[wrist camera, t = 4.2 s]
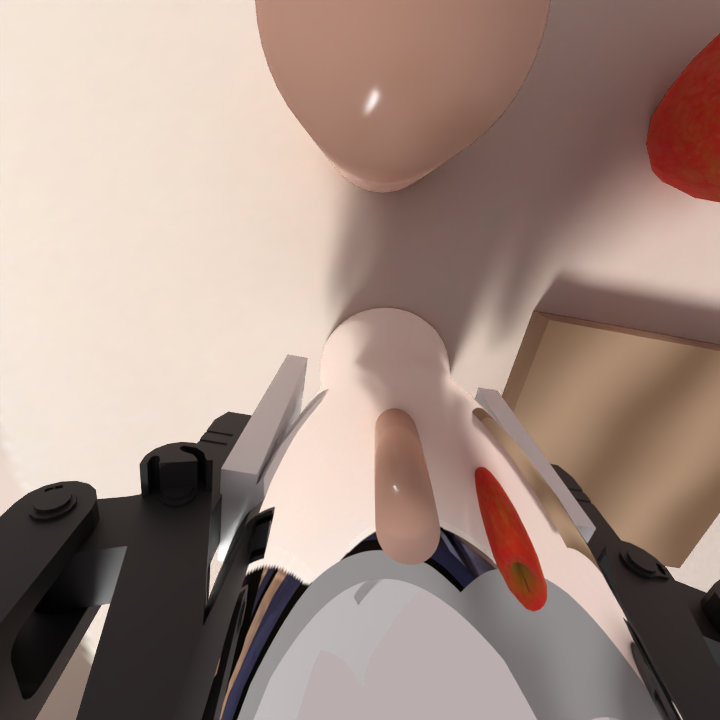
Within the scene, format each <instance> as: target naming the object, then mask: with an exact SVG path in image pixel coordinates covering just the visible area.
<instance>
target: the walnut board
mask: <svg viewBox="0 0 720 720" xmlns="http://www.w3.org/2000/svg"><path fill="white" fill-rule="evenodd" d="M502 398H503V399H504V400H505V402H506V403H507V405H508V406H509V407H510V409H511V410H512V412H513V413H514V414H515V416H516V417H517V419H518V420H519V421H520V423H521V424H522V426H523V427H524V428H525V430H526V431H527V433H528V434H529V435H530V437H531V438H532V440H533V441H534V442H535V444H536V445H537V446H538V448H539V449H540V451H541V452H542V453H543V455H544V456H545V458H546V459H547V460H548V462H549V463H550V464H554V465H558V466H560V467H561V468H562V469H563V470H565V471H566V472H567V473H568V474H569V475H571V476H572V477H573V478H574V479H575V481H576V482H577V483H578V485H579V486H580V487H581V489H582V490H583V493H585V494H586V495H587V496H588V498H589V499H590V500H591V504H594V506H595V507H596V508H597V509H598V511H599V512H600V513H601V515H602V516H603V517H604V519H605V520H606V521H607V522H608V524H609V525H610V526H611V528H612V529H613V530H614V532H615V533H616V534H617V536H618V537H619V538H620V539H621V541H625V542H629V543H632V544H634V545H636V546H638V547H640V548H642V549H644V550H645V551H647V552H648V553H649V554H651V555H652V556H654V557H655V558H656V559H657V560H658V561H660V562H661V563H662V564H663V565H664V566H669V567H676V568H680V567H681V565H682V564H683V562H684V561H685V560H686V558H687V557H688V556H689V554H690V553H691V551H692V550H693V549H694V547H695V546H696V545H697V543H698V542H699V540H700V539H701V538H702V536H703V535H704V534H705V532H706V531H707V529H708V528H709V527H710V525H711V524H712V523H713V521H714V520H715V518H716V517H717V516H718V514H719V513H720V345H718V344H712V343H707V342H701V341H696V340H690V339H685V338H679V337H674V336H668V335H663V334H658V333H652V332H647V331H641V330H636V329H630V328H625V327H619V326H614V325H608V324H603V323H598V322H592V321H587V320H581V319H576V318H570V317H565V316H559V315H554V314H549V313H543V312H538V311H533V314H532V317H531V319H530V322H529V325H528V327H527V330H526V333H525V336H524V338H523V341H522V344H521V346H520V349H519V352H518V355H517V357H516V360H515V363H514V365H513V368H512V371H511V374H510V376H509V379H508V382H507V384H506V387H505V390H504V393H503V395H502Z"/></svg>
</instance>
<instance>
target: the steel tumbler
mask: <svg viewBox="0 0 720 720" xmlns="http://www.w3.org/2000/svg"><path fill="white" fill-rule="evenodd" d="M320 382H321V388H320V389H319V391H318V392H317V393H316V394H315V396H314V397H313V398H312V400H311V401H310V402H309V403H308V405H307V406H306V407H305V409H304V410H303V411H302V413H301V414H300V415H299V417H298V418H297V419H296V421H295V422H294V423H293V425H292V426H291V427H290V429H289V430H288V432H287V433H286V435H285V436H284V438H283V440H282V441H281V443H280V444H279V446H278V448H277V449H276V451H275V452H274V454H273V456H272V457H271V459H270V460H269V462H268V464H267V465H266V467H265V468H264V470H263V472H262V474H261V476H260V478H259V480H258V482H257V485H256V486H255V489H254V491H253V493H252V495H251V497H250V499H249V501H248V503H247V506H246V508H245V510H244V512H243V514H242V516H241V518H240V520H239V523H238V525H237V527H236V530H235V532H234V535H233V537H232V540H231V542H230V545H229V547H228V550H227V553H226V555H225V558H224V560H223V563H222V565H221V568H220V571H219V573H218V576H217V578H216V581H215V583H214V586H213V589H212V591H211V594H210V596H209V599H208V602H207V605H206V608H205V612H204V620H203V627H202V630H201V633H200V636H199V639H198V642H197V645H196V649H195V652H194V655H193V658H192V661H191V664H190V668H189V671H188V674H187V677H186V681H185V684H184V687H183V690H182V693H181V697H180V700H179V703H178V706H177V710H176V713H175V716H174V719H173V720H686V718H685V716H684V714H683V712H682V710H681V708H680V707H679V705H678V703H677V701H676V699H675V697H674V696H673V694H672V692H671V690H670V688H669V686H668V684H667V683H666V681H665V679H664V677H663V675H662V673H661V671H660V670H659V668H658V666H657V664H656V662H655V660H654V659H653V657H652V655H651V653H650V652H649V650H648V648H647V646H646V644H645V643H644V641H643V639H642V637H641V635H640V634H639V632H638V630H637V628H636V627H635V625H634V623H633V621H632V619H631V618H630V616H629V614H628V612H627V611H626V609H625V607H624V605H623V603H622V602H621V600H620V598H619V596H618V594H617V593H616V591H615V589H614V587H613V586H612V584H611V582H610V580H609V578H608V577H607V575H606V573H605V572H604V570H603V568H602V567H601V565H600V563H599V562H598V560H597V559H596V557H595V555H594V554H593V552H592V550H591V549H590V547H589V546H588V544H587V542H586V541H585V539H584V537H583V536H582V534H581V533H580V531H579V529H578V528H577V526H576V524H575V523H574V521H573V520H572V518H571V516H570V515H569V513H568V511H567V510H566V508H565V507H564V505H563V504H562V502H561V501H560V500H559V498H558V497H557V495H556V494H555V493H554V491H553V490H552V488H551V487H550V486H549V484H548V483H547V481H546V480H545V479H544V477H543V476H542V474H541V473H540V472H539V470H538V469H537V467H536V466H535V465H534V463H533V462H532V460H531V459H530V458H529V456H528V455H527V454H526V453H525V451H524V450H523V449H522V448H521V447H520V446H519V445H518V444H517V442H516V441H515V440H514V439H513V438H512V437H511V436H510V435H509V434H508V433H507V431H506V430H505V429H504V428H503V427H502V426H501V425H500V424H499V423H498V422H497V420H496V419H495V418H494V417H493V416H492V415H491V414H490V413H489V412H488V411H487V410H486V409H484V408H483V407H482V406H481V405H480V404H479V403H478V402H477V401H476V400H475V399H474V398H473V397H472V396H471V395H470V394H468V393H467V392H466V391H465V390H464V389H463V388H462V387H461V386H460V385H458V384H457V383H456V382H455V381H454V380H453V379H452V378H451V377H450V366H449V359H448V354H447V351H446V348H445V345H444V343H443V341H442V339H441V337H440V336H439V334H438V333H437V332H436V331H435V329H434V328H433V327H432V326H431V325H430V324H429V323H427V322H426V321H425V320H423V319H422V318H420V317H418V316H416V315H414V314H412V313H410V312H407V311H404V310H400V309H395V308H374V309H369V310H366V311H362V312H360V313H357V314H355V315H353V316H351V317H350V318H348V319H346V320H345V321H344V322H342V323H341V324H340V325H339V326H338V327H337V328H336V329H335V330H334V331H333V332H332V334H331V335H330V337H329V338H328V340H327V342H326V344H325V346H324V348H323V351H322V355H321V360H320Z"/></svg>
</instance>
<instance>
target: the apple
mask: <svg viewBox="0 0 720 720" xmlns="http://www.w3.org/2000/svg"><path fill="white" fill-rule="evenodd" d="M646 145H647V149H648V154H649V158H650V162H651V167H652V171H653V172H654V173H655V174H656V175H657V176H658V177H659V178H660V179H661V180H662V182H665V183H667V184H669V185H671V186H673V187H675V188H677V189H679V190H681V191H683V192H685V193H687V194H688V195H690V196H692V197H694V198H699V199H705V200H710V201H715V202H720V34H719V35H718V36H717V37H716V38H715V39H714V40H713V41H712V42H710V43H709V44H708V45H707V46H706V47H705V48H704V49H703V50H702V51H701V52H700V53H699V54H698V55H697V56H696V57H695V58H694V59H693V60H692V61H691V63H690V64H689V65H688V66H687V67H686V69H685V70H684V71H683V72H682V73H681V75H680V76H679V77H678V78H677V79H676V81H675V82H674V83H673V84H672V85H671V87H670V88H669V90H668V91H667V93H666V94H665V96H664V98H663V99H662V101H661V103H660V104H659V106H658V108H657V109H656V111H655V112H654V114H653V116H652V118H651V122H650V127H649V132H648V137H647V142H646Z"/></svg>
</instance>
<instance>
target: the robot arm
mask: <svg viewBox="0 0 720 720" xmlns="http://www.w3.org/2000/svg"><path fill="white" fill-rule="evenodd" d="M307 359H308V358H304V357H299V356H293V355H287V357H286V358H285V360H284V362H283V364H282V365H281V367H280V369H279V370H278V372H277V374H276V376H275V377H274V379H273V381H272V382H271V384H270V386H269V388H268V389H267V391H266V393H265V394H264V396H263V398H262V399H261V401H260V403H259V405H258V406H257V408H256V410H255V411H254V413H253V415H252V416H251V415H245V414H239V413H233V412H227V413H226V414H224V415H222V416H220V417H219V418H217V419H215V420H214V422H213V423H212V424H211V426H210V427H209V428H208V429H207V432H205V433H204V435H203V436H202V437H201V439H200V442H199V441H198V443H197V444H196V443H188V442H178V443H172V444H167V445H164V446H161V447H159V448H156V449H154V450H153V451H151V452H150V453H148V454H147V455H146V456H145V457H144V458H143V460H142V461H141V463H140V477H141V491H142V494H140V495H135V496H128V497H118V498H107V499H97V495H96V490H95V489H94V488H93V487H92V486H91V485H89V484H87V483H83V482H79V481H67V482H58V483H54V484H50V485H46V486H43V487H41V488H39V489H37V490H34V491H32V492H30V493H28V494H27V495H25V496H24V497H22V498H21V499H20V500H18V501H17V502H16V503H14V504H13V505H12V506H11V507H10V508H9V509H8V510H7V511H6V512H5V513H4V514H3V515H2V516H1V517H0V720H35V719H36V717H37V716H38V714H39V712H40V711H41V709H42V707H43V705H44V704H45V702H46V700H47V698H48V696H49V695H50V693H51V691H52V690H53V688H54V686H55V685H56V683H57V681H58V679H59V678H60V676H61V674H62V672H63V671H64V669H65V667H66V666H67V664H68V662H69V660H70V658H71V657H72V655H73V653H74V652H75V649H76V648H77V647H78V645H79V643H80V641H81V640H82V638H83V636H84V634H85V633H86V631H87V629H88V627H89V626H90V624H91V622H92V621H93V619H94V617H95V615H96V614H97V612H98V610H99V608H100V607H101V605H103V604H109V603H110V606H109V610H108V613H107V617H106V620H105V623H104V627H103V630H102V634H101V637H100V640H99V644H98V647H97V651H96V654H95V657H94V661H93V664H92V667H91V671H90V674H89V678H88V681H87V684H86V688H85V691H84V695H83V698H82V701H81V705H80V708H79V711H78V715H77V718H76V720H173V719H174V716H175V713H176V710H177V706H178V703H179V700H180V697H181V693H182V690H183V687H184V684H185V681H186V677H187V674H188V671H189V668H190V664H191V661H192V658H193V655H194V652H195V649H196V645H197V642H198V639H199V636H200V633H201V630H202V627H203V620H204V612H205V608H206V605H207V602H208V599H209V583H210V563H211V560H212V558H213V556H214V554H215V552H216V550H217V547H218V561H223V560H224V558H225V555H226V553H227V550H228V547H229V545H230V542H231V540H232V537H233V535H234V532H235V530H236V527H237V525H238V523H239V520H240V518H241V516H242V514H243V512H244V510H245V508H246V506H247V503H248V501H249V499H250V497H251V495H252V493H253V491H254V489H255V486H256V485H257V482H258V480H259V478H260V476H261V474H262V472H263V470H264V468H265V467H266V465H267V464H268V462H269V460H270V459H271V457H272V456H273V454H274V452H275V451H276V449H277V448H278V446H279V444H280V443H281V441H282V440H283V438H284V436H285V435H286V433H287V432H288V430H289V429H290V427H291V426H292V425H293V423H294V422H295V421H296V419H297V418H298V417H299V415H300V413H301V405H302V397H303V390H304V382H305V375H306V367H307ZM475 400H476V401H477V402H478V403H479V404H480V405H481V406H482V407H483V408H484V409H486V410H487V411H488V412H489V413H490V414H491V415H492V416H493V417H494V418H495V419H496V420H497V422H498V423H499V424H500V425H501V426H502V427H503V428H504V429H505V430H506V431H507V433H508V434H509V435H510V436H511V437H512V438H513V439H514V440H515V441H516V442H517V444H518V445H519V446H520V447H521V448H522V449H523V450H524V451H525V453H526V454H527V455H528V456H529V458H530V459H531V460H532V462H533V463H534V465H535V466H536V467H537V469H538V470H539V472H540V473H541V474H542V476H543V477H544V479H545V480H546V481H547V483H548V484H549V486H550V487H551V488H552V490H553V491H554V493H555V494H556V495H557V497H558V498H559V500H560V501H561V502H562V504H563V505H564V507H565V508H566V510H567V511H568V513H569V515H570V516H571V518H572V520H573V521H574V523H575V524H576V526H577V528H578V529H579V531H580V533H581V534H582V536H583V537H584V539H585V541H586V542H587V544H588V546H589V547H590V549H591V550H592V552H593V554H594V555H595V557H596V559H597V560H598V562H599V563H600V565H601V567H602V568H603V570H604V572H605V573H606V575H607V577H608V578H609V580H610V582H611V584H612V586H613V587H614V589H615V591H616V593H617V594H618V596H619V598H620V600H621V602H622V603H623V605H624V607H625V609H626V611H627V612H628V614H629V616H630V618H631V619H632V621H633V623H634V625H635V627H636V628H637V630H638V632H639V634H640V635H641V637H642V639H643V641H644V643H645V644H646V646H647V648H648V650H649V652H650V653H651V655H652V657H653V659H654V660H655V662H656V664H657V666H658V668H659V670H660V671H661V673H662V675H663V677H664V679H665V681H666V683H667V684H668V686H669V688H670V690H671V692H672V694H673V696H674V697H675V699H676V701H677V703H678V705H679V707H680V708H681V710H682V712H683V714H684V716H685V718H686V720H720V580H719V581H717V582H716V583H715V584H714V585H713V586H712V587H711V589H710V590H709V591H708V592H707V593H705V592H703V591H700V590H698V589H695V588H693V587H690V586H688V585H685V584H683V583H680V582H678V581H675V580H674V578H673V577H672V575H671V574H670V572H669V571H668V570H667V568H666V567H665V566H664V565H663V564H662V563H661V562H660V561H658V560H657V559H656V558H655V557H654V556H652V555H651V554H649V553H648V552H647V551H645V550H644V549H642V548H640V547H638V546H636V545H634V544H632V543H629V542H625V541H621V539H620V538H619V537H618V536H617V534H616V533H615V532H614V530H613V529H612V528H611V526H610V525H609V524H608V522H607V521H606V520H605V519H604V517H603V516H602V515H601V513H600V512H599V511H598V509H597V508H596V507H595V506H594V504H591V500H590V499H589V498H588V496H587V495H586V494H585V493H583V490H582V489H581V487H580V486H579V485H578V483H577V482H576V481H575V479H574V478H573V477H572V476H571V475H569V474H568V473H567V472H566V471H565V470H563V469H562V468H561V467H560V466H558V465H554V464H550V463H549V462H548V460H547V459H546V458H545V456H544V455H543V453H542V452H541V451H540V449H539V448H538V446H537V445H536V444H535V442H534V441H533V440H532V438H531V437H530V435H529V434H528V433H527V431H526V430H525V428H524V427H523V426H522V424H521V423H520V421H519V420H518V419H517V417H516V416H515V414H514V413H513V412H512V410H511V409H510V407H509V406H508V405H507V403H506V402H505V400H504V399H503V398H502V396H501V395H500V393H499V392H498V391H495V390H489V389H483V388H478V391H477V394H476V397H475Z"/></svg>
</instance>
